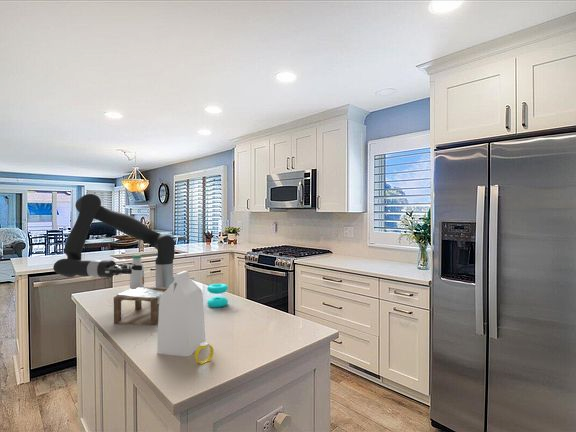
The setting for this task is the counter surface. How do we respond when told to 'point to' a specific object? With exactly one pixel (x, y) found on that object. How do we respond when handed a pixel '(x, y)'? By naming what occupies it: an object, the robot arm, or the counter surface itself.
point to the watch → (202, 345)
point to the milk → (181, 317)
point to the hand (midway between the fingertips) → (136, 269)
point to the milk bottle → (137, 274)
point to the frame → (137, 310)
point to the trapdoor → (141, 293)
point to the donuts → (217, 290)
